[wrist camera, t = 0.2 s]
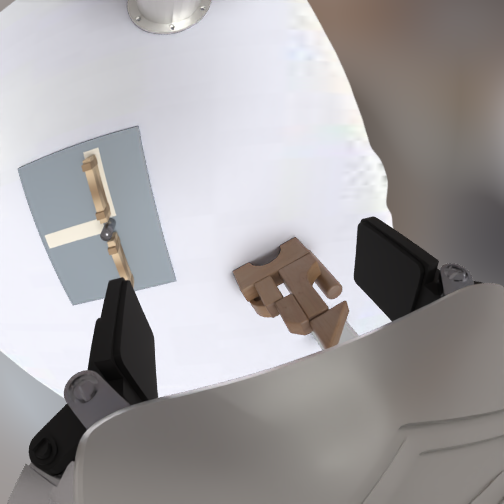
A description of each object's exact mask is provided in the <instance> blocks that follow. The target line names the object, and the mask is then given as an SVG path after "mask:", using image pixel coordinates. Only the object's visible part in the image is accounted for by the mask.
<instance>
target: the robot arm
mask: <svg viewBox="0 0 504 504" xmlns="http://www.w3.org/2000/svg"><path fill="white" fill-rule="evenodd" d="M210 4H211V0H128V2H127V9H128V13H129V16H130V18H131V19H132V21H133V22H134V23H135V24H136V25H137V26H138V27H139V28H141V29H143V30H145V31H147V32H150V33H155V34H172V33H177V32H180V31H183V30H186V29H188V28H190V27H192V26H193V25H195V24H196V23H198V22H199V21H200V20H201V19H202V18H203V17H204V15H205V14H206V13H207V11H208V9H209V6H210ZM201 9H204V11H202V10H201ZM138 19H140V21H137V20H138ZM171 28H174V29H173V30H171ZM438 262H439V261H438V260H437V259H436V258H434V257H433V256H432V255H430V254H429V253H427V252H426V251H425V250H423V249H422V248H420V247H419V246H417V245H416V244H414V243H413V242H412V241H410V240H409V239H408V238H406V237H405V236H403V235H402V234H400V233H399V232H397V231H396V230H394V229H393V228H391V227H390V226H388V225H387V224H385V223H384V222H382V221H381V220H379V219H378V218H376V217H369V218H365V219H362V220H361V222H360V223H359V224H358V231H357V245H356V257H355V268H354V280H355V282H356V284H357V285H358V286H359V287H360V288H361V289H362V290H363V291H364V292H365V293H366V294H367V295H368V296H369V297H370V298H371V299H372V300H373V301H374V302H375V304H376V305H377V306H378V307H379V308H380V309H381V310H382V311H383V312H384V313H385V314H386V315H387V316H388V317H389V319H390V320H391V321H392V322H390V323H388V324H386V325H383V326H381V327H379V328H377V329H374V330H372V331H370V332H367V333H365V334H363V335H360V336H358V337H355V338H353V339H350V340H348V341H345V342H343V343H340V344H338V345H335V346H333V347H330V348H327V349H325V350H322V351H319V352H317V353H314V354H311V355H308V356H305V357H303V358H300V359H297V360H294V361H291V362H288V363H285V364H282V365H279V366H276V367H273V368H270V369H266V370H263V371H260V372H257V373H253V374H250V375H246V376H243V377H239V378H236V379H232V380H228V381H225V382H221V383H217V384H213V385H209V386H206V387H202V388H198V389H194V390H190V391H185V392H181V393H177V394H172V395H168V396H164V397H160V398H158V392H157V379H156V365H155V346H154V336H153V332H152V330H151V328H150V326H149V323H148V321H147V319H146V317H145V315H144V312H143V310H142V308H141V306H140V303H139V301H138V298H137V296H136V294H135V291H134V289H133V286H132V284H131V282H130V280H125V279H124V278H123V277H121V278H117V279H113V280H109V282H108V286H107V290H106V295H105V299H104V304H103V309H102V314H101V318H98V319H97V321H96V324H95V329H94V334H93V340H92V345H91V351H90V358H89V364H88V370H86V371H81V372H78V373H77V374H75V375H74V376H72V377H71V378H70V379H69V381H68V382H67V384H66V386H65V389H64V398H65V400H66V402H67V404H66V405H65V406H64V407H63V408H62V410H60V411H59V412H58V413H57V414H56V415H55V416H54V417H53V418H52V419H51V420H50V422H48V423H47V424H46V425H45V426H44V427H43V428H42V429H41V430H40V431H39V432H38V433H37V434H36V436H35V437H34V438H33V439H32V441H31V443H30V446H29V456H30V460H31V463H30V465H27V464H25V466H24V468H23V470H22V472H21V474H20V477H19V478H18V480H17V482H16V485H15V487H14V489H13V491H12V493H11V495H10V497H9V500H8V503H7V504H504V287H503V286H501V285H498V284H493V283H481V282H475V281H473V278H472V275H471V274H470V272H469V271H468V270H467V269H466V268H465V267H463V266H461V265H459V264H455V263H447V264H444V265H442V267H441V268H440V270H438V269H437V266H438Z"/></svg>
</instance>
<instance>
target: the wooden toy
mask: <svg viewBox="0 0 504 504" xmlns="http://www.w3.org/2000/svg"><path fill="white" fill-rule="evenodd" d="M280 249H281V251H280V254H279V255H278V256H277V258H276V259H274V260H273V261H272V262H270V263H268V264H265V265H262V266H254V265H252V264H251V263H247V264H245V265H243V266H242V267H240V268H238V269H236V270H234V271H233V274H234V276H235V278H236V281H237V283H238V286H239V288H240V290H241V292H242V294H243V295H244V297H245V298H246V300H247V301H248V302H249V301H250V303H251V305H252V306H253V308H254V309H255V311H256V312H257V314H259V315H260V316H262V317H272V318H274V317H275V316H278V315H279V314H280V315H281V317H282V319H283V321H284V322H285V324H286V326H287V328H288V330H289V332H290V333H294V334H300V335H307V334H309V333H311V332H314V333H315V335H316V337H317V338H318V340H319V341H320V343H321V344H322V346H323V348H324V349H327V348H330V347H333V346H335V345H338V343H339V340H340V337H341V334H342V331H343V328H344V325H345V322H346V319H347V316H348V313H349V309H348V305H347V302H346V301H343V302H341V303H339V304H338V305H336V306H334V307H333V308H331V309H329V308H328V306H327V305H326V303H325V302H324V301H323V300H322V298H321V297H320V296H319V294H318V293H317V292H316V291H315V289H314V288H313V287H312V286H313V283H314V282H315V283H316V284H317V285H318V287H319V288H320V289H321V290H322V292H323V293H324V294H325V296H326V297H327V298H329V299H335V298H337V297H338V296H339V295H340V294H341V292H342V286H341V284H340V283H339V282H338V281H337V280H336V279H335V277H334V276H333V275H332V274H331V273H330V272H329V271H328V270H327V269H326V267H325V266H324V265H323V264H322V263H321V262H320V261H319V260H318V259H317V258H316V256H315V255H314V254H313V253H312V252H311V251H310V250H307V248H306V247H305V246H304V245H303V244H302V243H301V242H300V241H299V240H298V239H297V238H296V237H295V238H293V239H291V240H289V241H287V242H285V243H284V244H282V245H280ZM282 283H284V284H285V286H286V288H287V289H288V291H289V292H290V295H288V296H286V297H283V296H282V294H281V292H280V291H279V289H278V287H277V286H278V285H280V284H282Z"/></svg>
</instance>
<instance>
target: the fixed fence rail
mask: <svg viewBox="0 0 504 504" xmlns="http://www.w3.org/2000/svg"><path fill="white" fill-rule="evenodd" d="M82 162H83V165H81V167H82V171H83V172H85V174H86V177H87V181H88V185H89V188H90V192H91V195H92V198H93V202H94V205H95V208H96V214H95V215H96V218H97V221H98V220H99V221H100V224H102V223H106V222H108V220H109V218H110V215H111V212H110V206H109V203H108V202H107V198H106V195H105V191H104V188H103V184H102V180H101V176H100V173H99V169H98V165H97V164H98V162H97V158H96V156H95V155H92V156H89V157H87V158H86V159H85V160H83V161H82Z"/></svg>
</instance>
